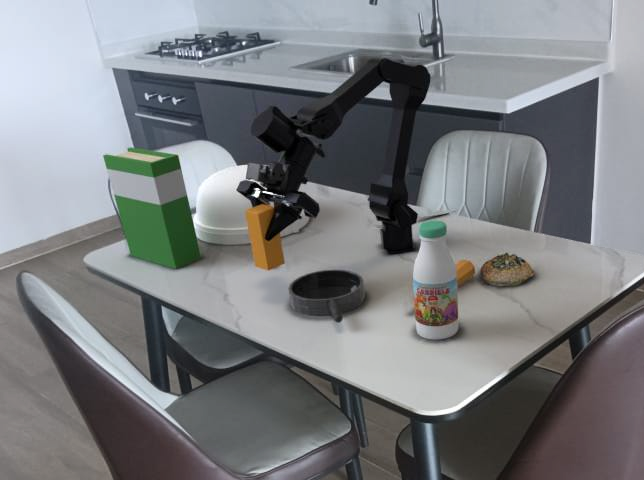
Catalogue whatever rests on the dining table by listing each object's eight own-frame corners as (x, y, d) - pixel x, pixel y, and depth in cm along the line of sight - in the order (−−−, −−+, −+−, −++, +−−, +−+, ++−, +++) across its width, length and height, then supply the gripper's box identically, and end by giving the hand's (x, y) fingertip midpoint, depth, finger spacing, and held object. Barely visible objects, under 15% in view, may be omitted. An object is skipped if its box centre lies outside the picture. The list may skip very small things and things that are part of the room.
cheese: (271, 259, 149) (262, 203, 143) (285, 263, 147) (275, 207, 141) (255, 266, 147) (244, 210, 140) (268, 270, 144) (258, 213, 138)
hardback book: (130, 255, 179) (103, 155, 166) (155, 245, 183) (130, 147, 171) (176, 268, 169) (150, 163, 156) (201, 258, 174) (178, 154, 161)
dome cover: (167, 233, 190) (154, 179, 183) (248, 199, 211) (239, 149, 203) (256, 252, 174) (246, 193, 167) (335, 213, 194) (329, 159, 187)
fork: (460, 211, 188) (460, 204, 187) (379, 234, 178) (378, 227, 177) (452, 208, 191) (452, 201, 190) (372, 231, 181) (372, 224, 180)
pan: (357, 282, 155) (355, 265, 153) (371, 310, 142) (369, 293, 140) (287, 293, 152) (285, 276, 150) (295, 323, 140) (293, 305, 138)
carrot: (465, 278, 154) (456, 258, 152) (481, 274, 151) (473, 254, 149) (408, 324, 142) (398, 303, 141) (425, 321, 139) (415, 300, 137)
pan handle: (327, 305, 141) (326, 298, 140) (336, 304, 141) (335, 296, 140) (335, 324, 134) (334, 316, 133) (343, 323, 134) (342, 315, 133)
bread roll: (489, 262, 158) (492, 240, 155) (539, 274, 154) (543, 252, 151) (470, 284, 150) (473, 262, 147) (522, 298, 146) (526, 275, 143)
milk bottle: (413, 323, 136) (407, 219, 126) (455, 319, 137) (451, 214, 126) (418, 342, 130) (412, 234, 119) (461, 338, 130) (459, 229, 120)
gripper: (234, 138, 143) (200, 210, 142) (299, 148, 132) (262, 227, 131) (272, 168, 152) (240, 236, 151) (335, 180, 141) (301, 254, 140)
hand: (259, 238), depth 143 cm, fingers closed on cheese, 4 cm apart
